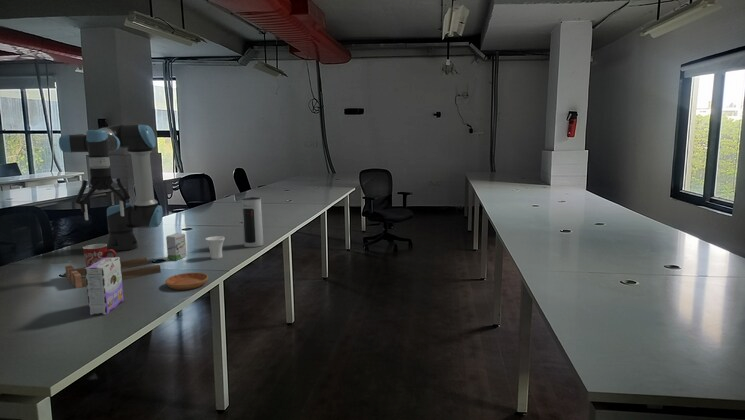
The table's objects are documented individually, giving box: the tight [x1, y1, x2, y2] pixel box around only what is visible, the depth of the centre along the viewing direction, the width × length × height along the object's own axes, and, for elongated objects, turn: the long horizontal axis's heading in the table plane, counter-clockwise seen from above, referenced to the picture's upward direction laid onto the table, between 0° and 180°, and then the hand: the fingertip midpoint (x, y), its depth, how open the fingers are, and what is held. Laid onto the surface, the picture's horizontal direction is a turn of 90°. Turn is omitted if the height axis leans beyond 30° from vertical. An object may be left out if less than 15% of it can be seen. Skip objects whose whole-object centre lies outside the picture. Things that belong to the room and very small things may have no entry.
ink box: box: [165, 232, 188, 262], centre depth 232 cm, size 8×5×12 cm, turn 167°
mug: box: [82, 243, 117, 267], centre depth 201 cm, size 13×9×14 cm
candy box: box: [85, 256, 125, 316], centre depth 165 cm, size 14×6×16 cm, turn 5°
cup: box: [204, 235, 225, 260], centre depth 233 cm, size 9×9×10 cm
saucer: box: [165, 272, 209, 291], centre depth 191 cm, size 16×16×3 cm
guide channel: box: [64, 256, 161, 289], centre depth 205 cm, size 20×32×5 cm, turn 132°
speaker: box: [240, 196, 264, 248], centre depth 257 cm, size 11×10×26 cm
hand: (105, 217), depth 202 cm, fingers open, 13 cm apart
